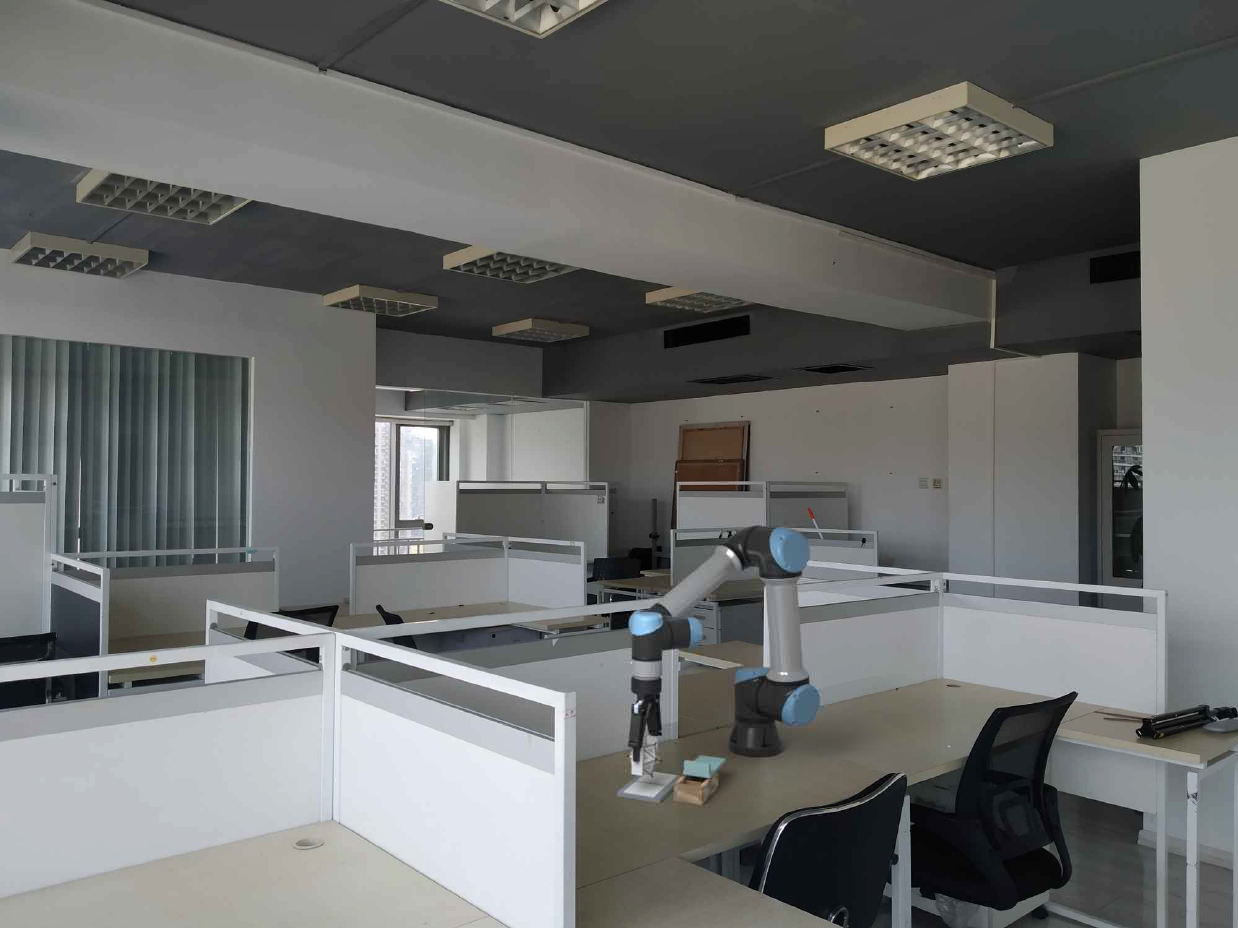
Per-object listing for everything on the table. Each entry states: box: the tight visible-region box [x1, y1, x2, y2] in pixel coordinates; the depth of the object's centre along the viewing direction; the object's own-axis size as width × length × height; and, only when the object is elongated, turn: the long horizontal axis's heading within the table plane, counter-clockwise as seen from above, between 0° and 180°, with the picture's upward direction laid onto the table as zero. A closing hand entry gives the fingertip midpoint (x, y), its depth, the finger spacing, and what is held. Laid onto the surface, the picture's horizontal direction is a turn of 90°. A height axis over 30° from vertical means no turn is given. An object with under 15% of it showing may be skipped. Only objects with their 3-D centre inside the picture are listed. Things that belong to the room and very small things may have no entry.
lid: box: [682, 754, 727, 778], centre depth 227 cm, size 14×7×3 cm, turn 157°
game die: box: [624, 742, 664, 778], centre depth 220 cm, size 9×8×10 cm
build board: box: [616, 771, 683, 804], centre depth 224 cm, size 18×11×1 cm, turn 157°
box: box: [673, 770, 719, 806], centre depth 220 cm, size 14×7×4 cm, turn 157°
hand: (644, 768), depth 220 cm, fingers closed on game die, 9 cm apart
